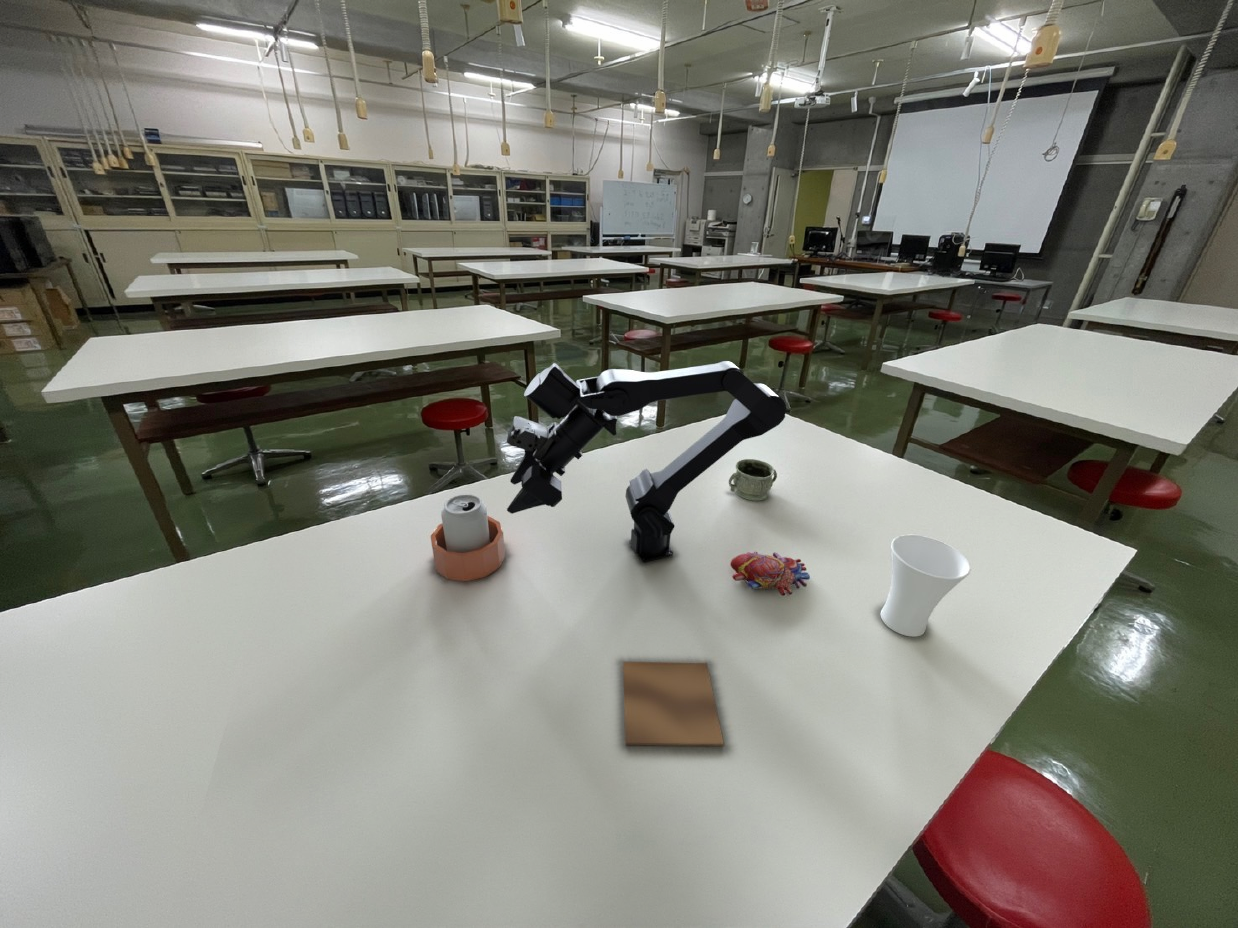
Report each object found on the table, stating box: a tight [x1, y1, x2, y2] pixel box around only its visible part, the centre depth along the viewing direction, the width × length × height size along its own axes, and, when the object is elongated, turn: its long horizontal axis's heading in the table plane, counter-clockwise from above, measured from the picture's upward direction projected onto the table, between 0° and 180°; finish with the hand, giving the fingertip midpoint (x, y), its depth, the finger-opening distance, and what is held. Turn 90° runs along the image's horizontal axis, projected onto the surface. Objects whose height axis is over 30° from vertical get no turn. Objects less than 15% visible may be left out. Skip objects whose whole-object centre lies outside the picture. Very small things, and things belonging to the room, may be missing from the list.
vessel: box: [728, 458, 778, 501], centre depth 113 cm, size 12×9×6 cm
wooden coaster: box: [622, 661, 724, 747], centre depth 66 cm, size 12×12×1 cm
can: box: [440, 493, 490, 553], centre depth 87 cm, size 8×8×12 cm
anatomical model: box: [730, 551, 811, 596], centre depth 87 cm, size 11×4×15 cm
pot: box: [430, 515, 506, 582], centre depth 89 cm, size 12×12×6 cm
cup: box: [880, 533, 972, 638], centre depth 77 cm, size 10×10×14 cm
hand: (510, 496), depth 85 cm, fingers open, 9 cm apart
